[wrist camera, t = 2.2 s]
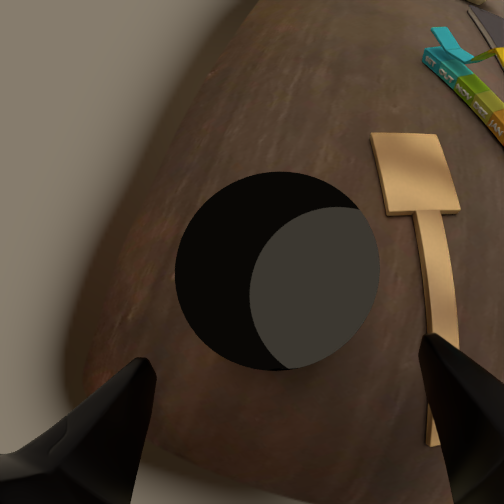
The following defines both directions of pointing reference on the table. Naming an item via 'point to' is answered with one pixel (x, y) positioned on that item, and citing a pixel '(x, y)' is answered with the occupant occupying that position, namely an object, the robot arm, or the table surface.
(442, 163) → the spatula
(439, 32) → the chart
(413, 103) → the table surface
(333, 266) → the supplement container
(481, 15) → the notebook
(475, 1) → the bowl
